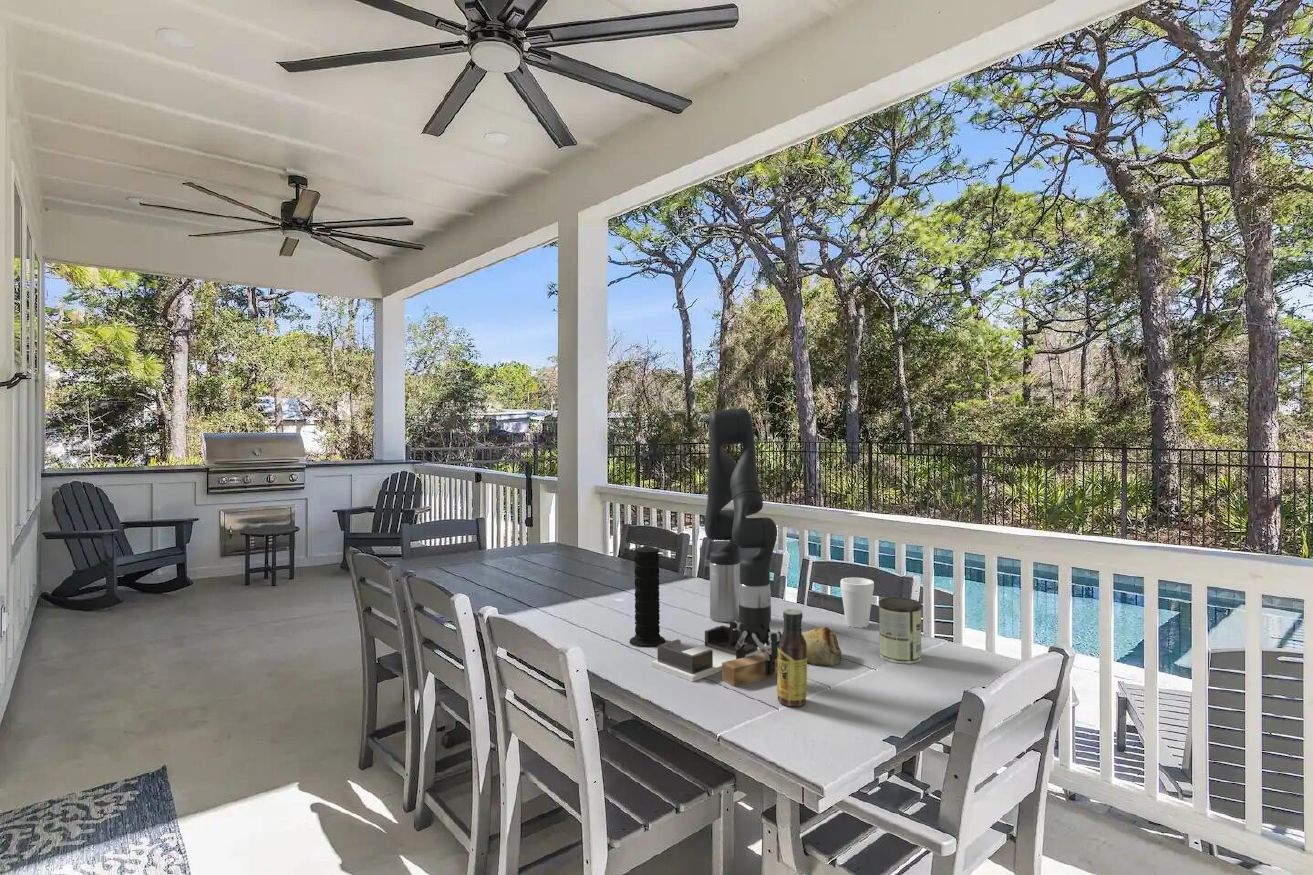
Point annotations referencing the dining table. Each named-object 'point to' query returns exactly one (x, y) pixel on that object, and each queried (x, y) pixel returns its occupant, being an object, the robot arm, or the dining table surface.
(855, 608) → the foam cup
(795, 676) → the sauce bottle
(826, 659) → the pastry
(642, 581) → the handle grip
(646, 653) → the dining table surface
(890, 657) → the coffee can
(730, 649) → the brackets
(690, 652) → the mounting board
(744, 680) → the oak rail
